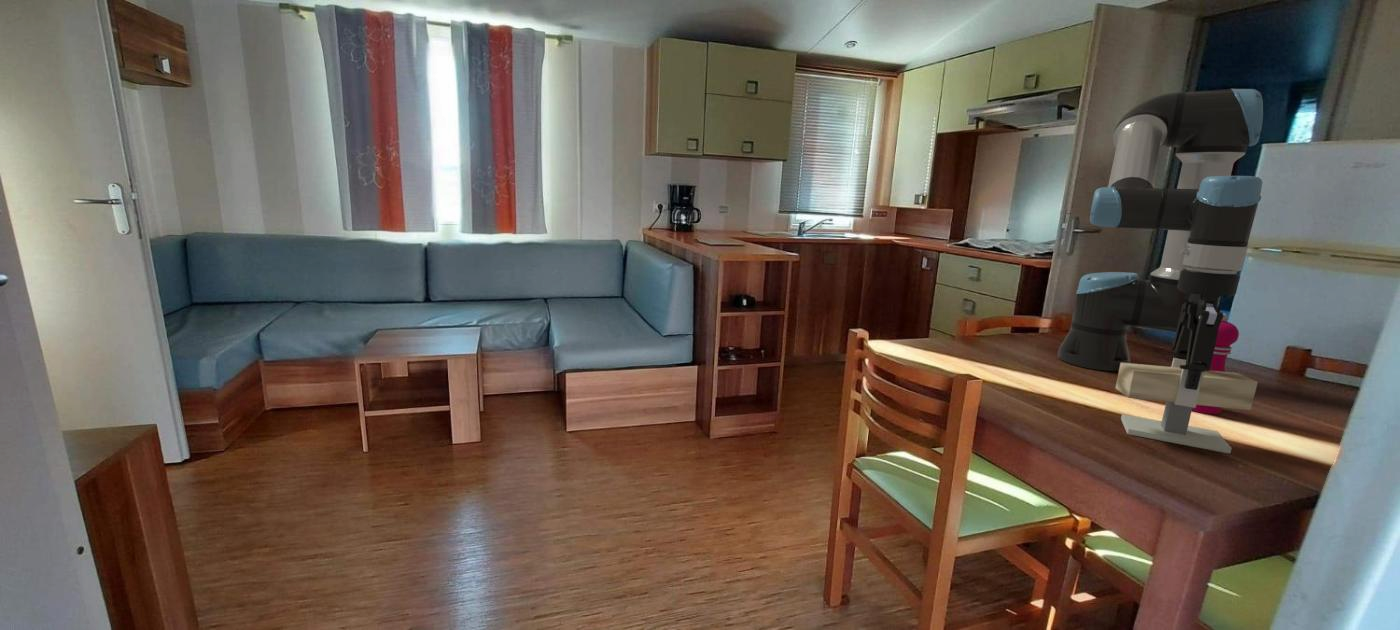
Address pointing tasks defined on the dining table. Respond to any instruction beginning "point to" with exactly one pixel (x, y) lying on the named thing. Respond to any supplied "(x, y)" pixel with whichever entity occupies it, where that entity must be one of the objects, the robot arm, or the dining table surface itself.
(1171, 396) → the beech bar
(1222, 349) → the pepper mill
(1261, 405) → the dining table surface
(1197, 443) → the stand
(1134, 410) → the dining table surface
